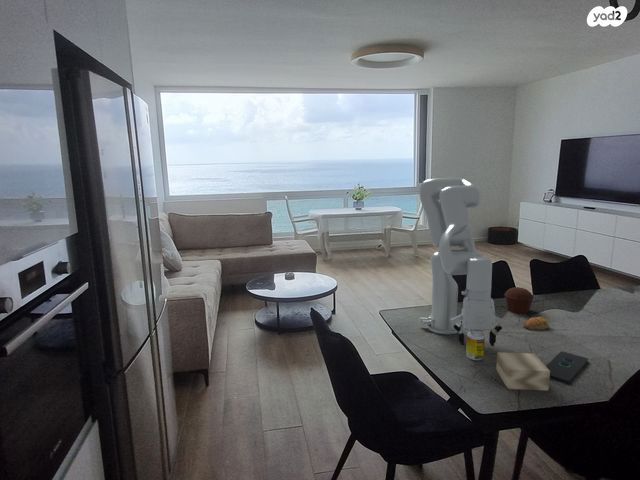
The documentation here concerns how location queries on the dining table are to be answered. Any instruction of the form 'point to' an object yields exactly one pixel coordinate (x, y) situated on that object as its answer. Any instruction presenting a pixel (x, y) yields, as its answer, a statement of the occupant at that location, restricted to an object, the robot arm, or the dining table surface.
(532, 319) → the pastry
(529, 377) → the oak block
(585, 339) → the dining table surface
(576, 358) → the smart home device
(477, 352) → the supplement bottle
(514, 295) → the muffin
